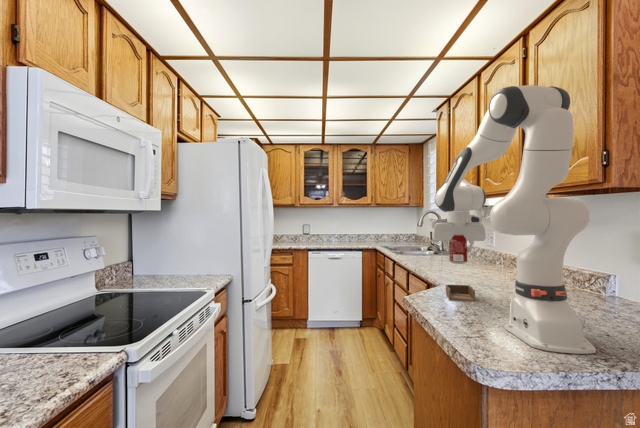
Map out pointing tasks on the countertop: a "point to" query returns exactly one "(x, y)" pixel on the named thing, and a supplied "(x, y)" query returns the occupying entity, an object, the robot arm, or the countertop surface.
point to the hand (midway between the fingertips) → (458, 251)
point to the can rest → (460, 292)
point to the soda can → (458, 249)
